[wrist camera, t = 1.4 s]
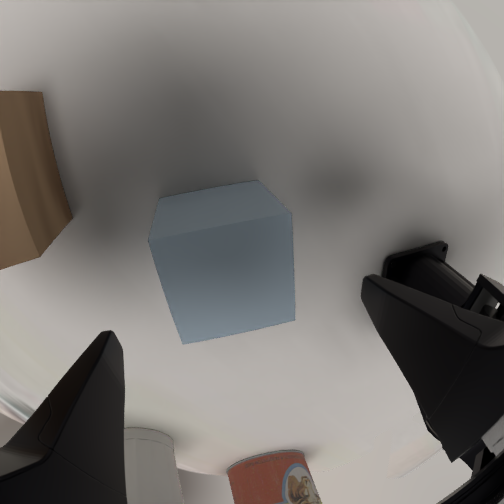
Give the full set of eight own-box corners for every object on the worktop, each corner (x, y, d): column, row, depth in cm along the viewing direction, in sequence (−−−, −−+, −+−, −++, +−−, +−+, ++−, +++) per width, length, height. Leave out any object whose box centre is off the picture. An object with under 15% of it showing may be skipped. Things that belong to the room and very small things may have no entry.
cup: (125, 454, 25) (130, 542, 15) (93, 424, 21) (89, 532, 11) (189, 451, 26) (204, 543, 16) (167, 421, 22) (181, 539, 12)
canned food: (319, 449, 33) (346, 515, 23) (270, 477, 36) (289, 535, 26) (259, 448, 29) (285, 532, 18) (211, 476, 32) (227, 545, 21)
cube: (257, 179, 14) (291, 212, 10) (266, 264, 17) (295, 319, 12) (159, 197, 14) (148, 240, 9) (180, 281, 16) (182, 344, 12)
